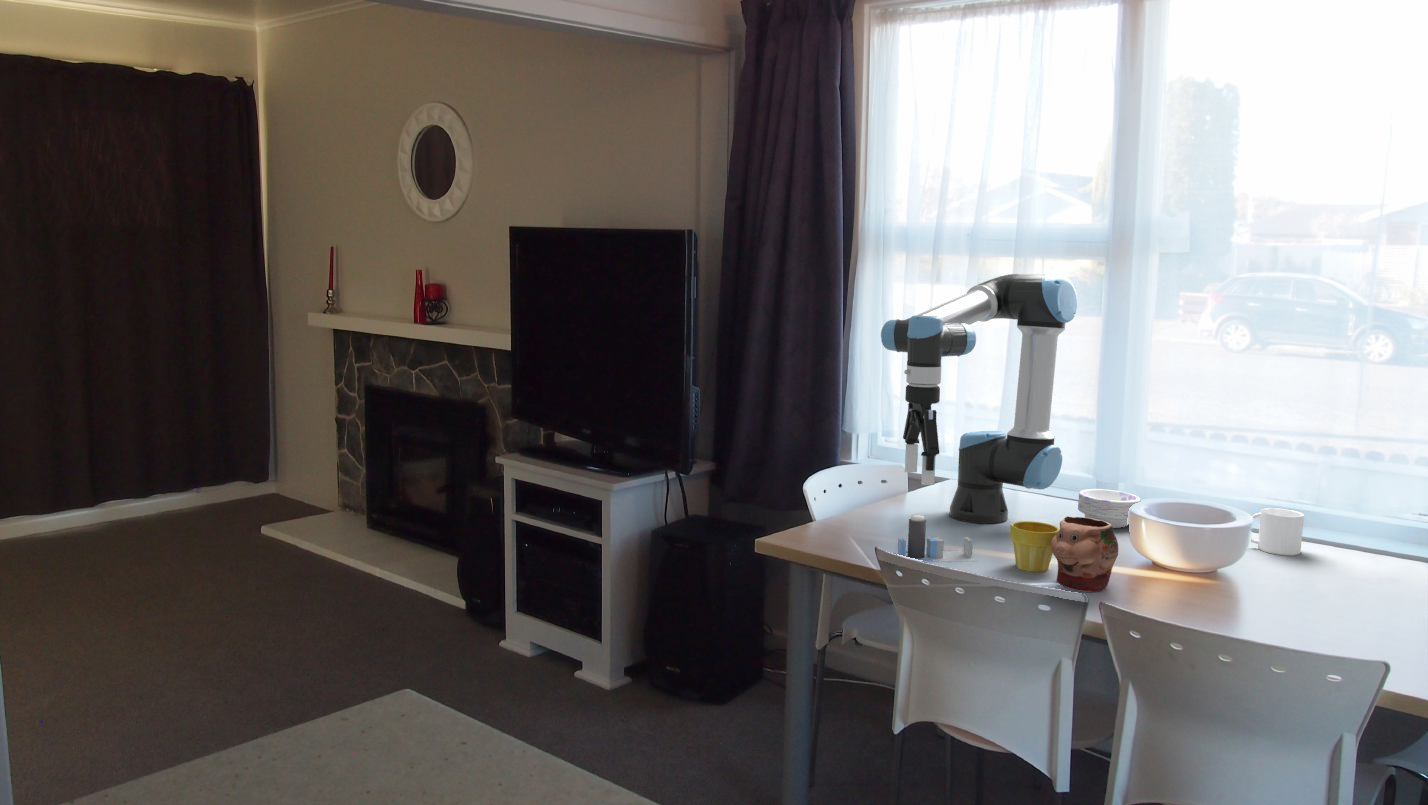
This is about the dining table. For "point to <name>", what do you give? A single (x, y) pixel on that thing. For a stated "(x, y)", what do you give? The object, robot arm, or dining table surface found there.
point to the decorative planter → (1084, 553)
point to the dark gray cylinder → (916, 537)
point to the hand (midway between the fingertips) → (919, 478)
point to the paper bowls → (1106, 505)
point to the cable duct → (940, 550)
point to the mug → (1280, 531)
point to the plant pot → (1032, 544)
